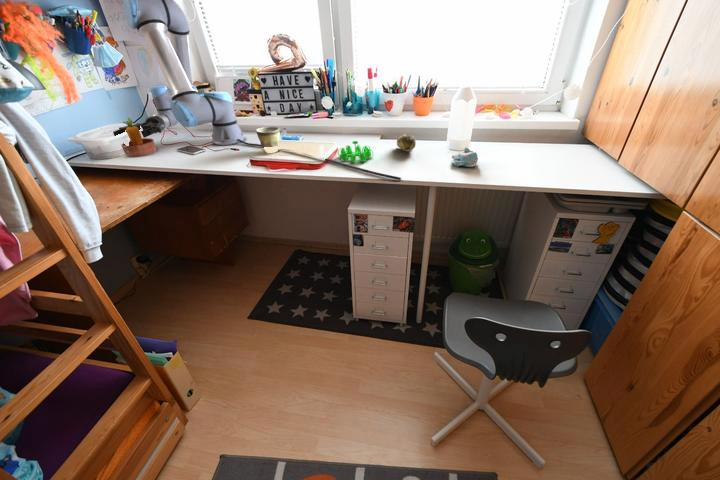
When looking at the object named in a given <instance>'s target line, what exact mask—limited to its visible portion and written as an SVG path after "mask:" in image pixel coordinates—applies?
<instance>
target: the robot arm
mask: <svg viewBox="0 0 720 480" xmlns="http://www.w3.org/2000/svg"><path fill="white" fill-rule="evenodd" d="M122 5H123V12H124V16H125V19H126V22H127V24H128V26H129V27H130V28H131V29H134V30H136V31H137V33H138V35H140V36H141V37H142V38H144V39H145V40H146V43H147V44H148V46H149V48H150V50H151V52H152V54H153V56H154V58H155V61H156V62H157V65H158V67H159V69H160V70H161V74H162V75H163V77H164V79H165V81H166V83H167V85H168V87H169V88H167V86H166V85H154V86H151V87H150V88H149V91H150V94H151V98H152V100H153V102H154V104H155V108H156V111H157V113H156V114H153V115H151V116H148V117H147V118H146V119H145V121H144V122H140V123H139V122H137V123H134V124H133V123H132V125H133V126H135V127H138V129H139V130H140V129H141V130H143V131H140V134H141V136H142V138H148V137H150V136H152V135H154V134H157V133H159V134H161V133H163V131H165V130H166V129H169V128H170V127H173V126H176V125H177V124H180V125H181V126H183V127H184V128H192V127H194V128H195V127H198V126H202V125H207V124H210V123H211V125H212V134H211V138H212V142H213V143H212V144H213V145H215V146H216V145H217V146H230V145H236V144H240V143H242V144H244V145H246V146H252V147H253V146H254V147H261V148H262V145H261V143H260V144H259V143H252V142H251V143H250V142H247V141H245V139H246V138H245V134H244V132H243V131H242V129H241V127H240V126H239V124H238V120H237V116H236V111H235V108H234V102H233V98H232V96H231V94H230V93H229V92H227V91H204V92H203V95H201V96H200V94H199V91H198V89H197V87H196V86H195V85H193V76H192V75H193V74H192V66H191V65H192V64H191V57H190V56H191V55H190V46H189V35H191V34H190V33H191V32H190V24H189V21H188V19H187V15H186V14H185V12H184V10H183V9H182V7H181V6H180V4H178V3H177V2H176V1H175V0H122ZM167 33H169V36H168V34H167ZM140 126H141V128H140ZM127 127H129V126H128V125H125V126H120V127H118V129H117V130H113V131H112V135H113V136H114V137H115V136H116V135H118V134H121V133H123V132H125V130H126V128H127ZM324 161H325V162H329V163H332V164H336V165H339V166H342V167H346V168H349V169H351V170H352V169H353V170H356V171H360V172H364V173H367V174H371V175H376V176H380V177H384V178H387V179H393V180H398V181H401V179H402V178H401V177H399V176H395V175H390V174H386V173H382V172H377V171H373V170H369V169H366V168H361V167H357V166H353V165H350V164H347V163H343V162H339V161H336V160H334V159H329V158H326V159H325V160H324Z"/></svg>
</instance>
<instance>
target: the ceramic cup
mask: <svg viewBox="0 0 720 480" xmlns="http://www.w3.org/2000/svg"><path fill="white" fill-rule="evenodd" d="M255 132H256V135H257V138H258V140H259V141H260V145H262V147H261V148H262V149H263V148H264V147H274V146H278V145H279V146H280V136H281V135H280V133H281V131H280V127H278V126H264V127H260V128H256V130H255Z"/></svg>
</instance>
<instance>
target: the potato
mask: <svg viewBox="0 0 720 480" xmlns="http://www.w3.org/2000/svg"><path fill="white" fill-rule="evenodd" d="M416 145H417V144H416V139H415V137H414V136H413V135H411V134H403V135H401V136H400V137H398V138H397V140H396V146H397V147H398V148H399V149H400V150H402V151H403V152H410V151H412V150H414V149H415V148H416Z"/></svg>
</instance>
